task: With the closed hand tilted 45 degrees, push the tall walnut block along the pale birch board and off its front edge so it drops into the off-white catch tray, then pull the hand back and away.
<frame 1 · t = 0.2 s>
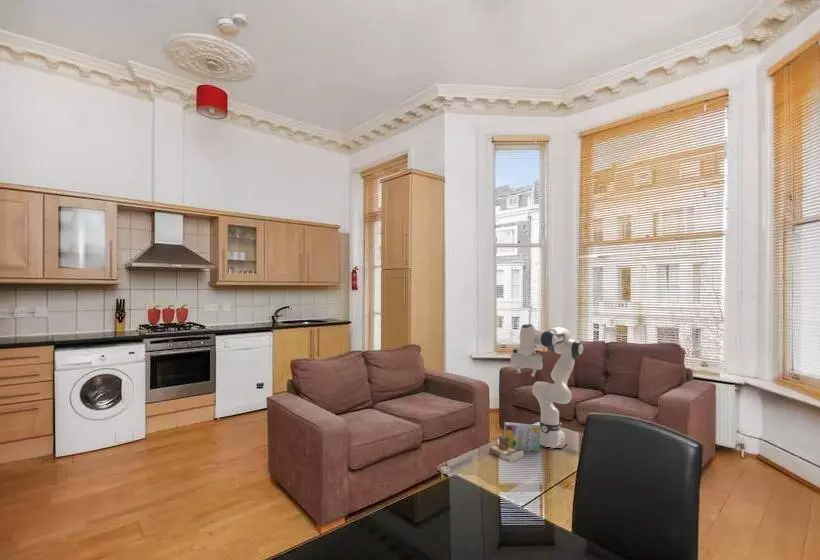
hand: (525, 374, 245), 48 cm above the table, tool pointing down, fingers open, 8 cm apart
catch tray: (511, 457, 241), on the table
snack box: (521, 449, 255), on the table
birch board: (502, 453, 246), on the table
walnut block: (503, 448, 246), point 3 cm above the table, touching birch board
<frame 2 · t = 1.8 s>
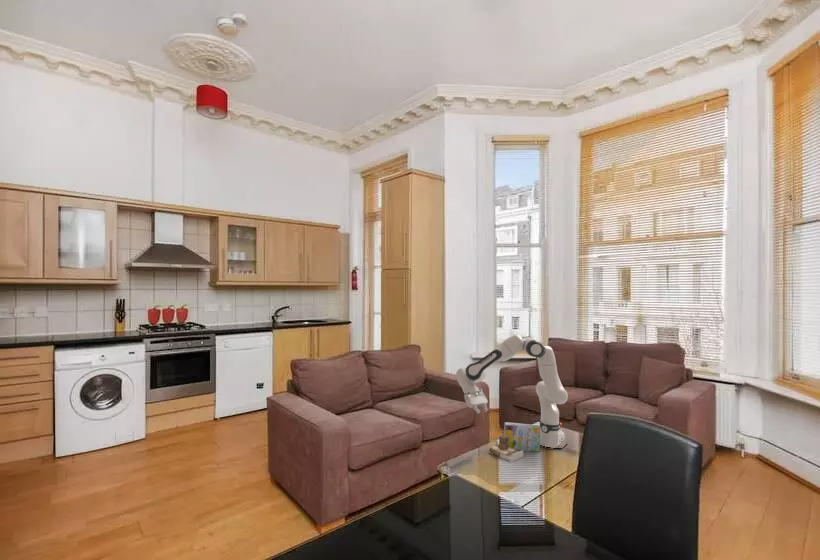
hand: (482, 412, 256), 21 cm above the table, tool tilted 40°, fingers open, 8 cm apart
nothing on the table moved.
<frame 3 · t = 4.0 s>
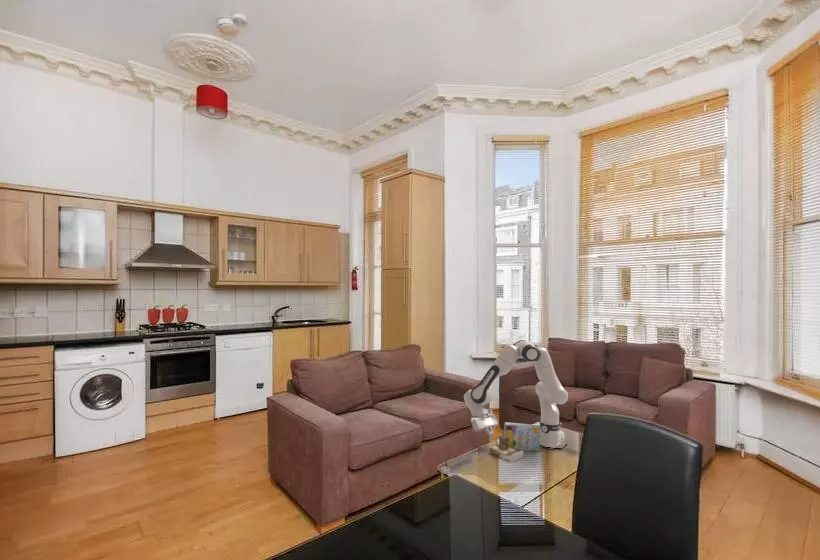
hand: (491, 435, 253), 8 cm above the table, tool tilted 45°, fingers closed
nothing on the table moved.
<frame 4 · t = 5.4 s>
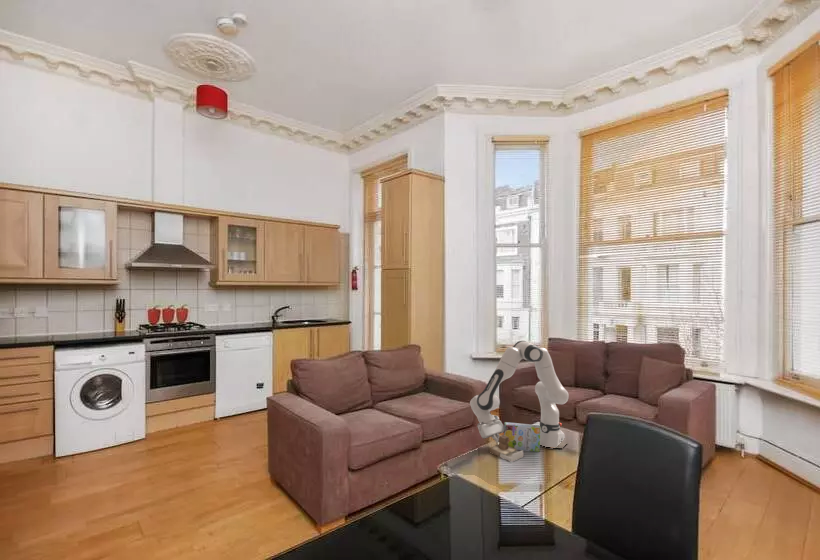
hand: (498, 441, 248), 6 cm above the table, tool tilted 45°, fingers closed
nothing on the table moved.
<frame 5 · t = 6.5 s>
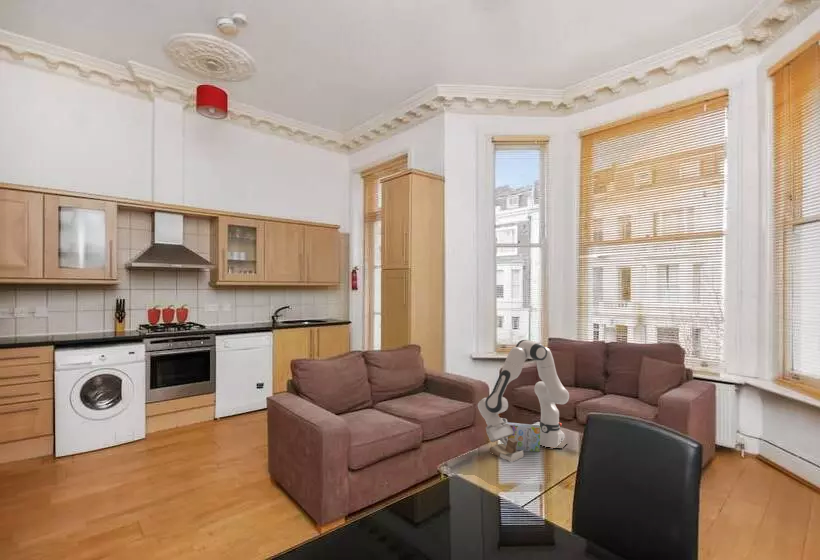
hand: (507, 445, 244), 6 cm above the table, tool tilted 45°, fingers closed
walnut block: (510, 451, 242), point 3 cm above the table, tilted 12°, touching birch board
everything else where it was.
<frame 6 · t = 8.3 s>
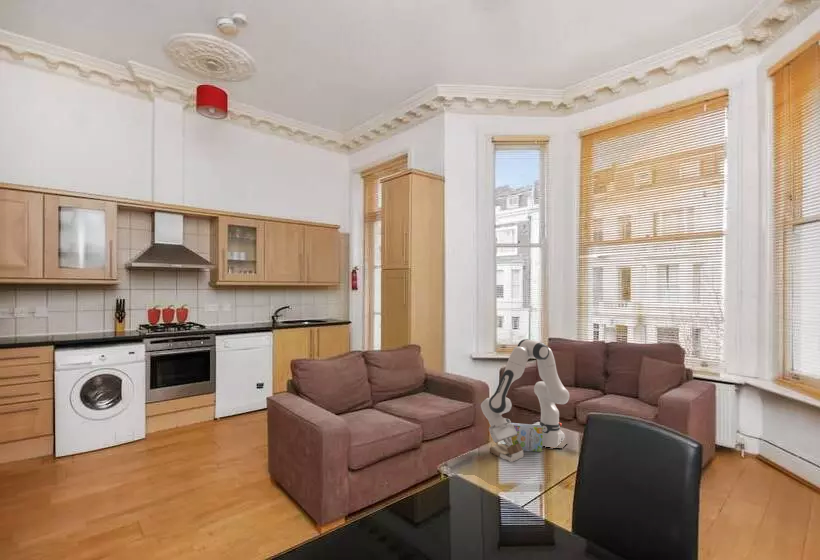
hand: (511, 445, 242), 6 cm above the table, tool tilted 45°, fingers closed
snack box: (523, 449, 254), on the table
walnut block: (510, 451, 242), point 3 cm above the table, tilted 53°, touching birch board, catch tray
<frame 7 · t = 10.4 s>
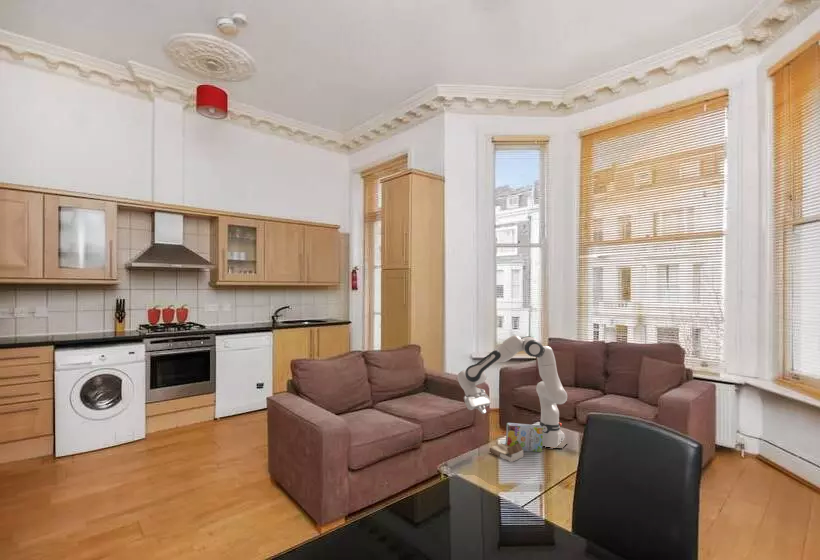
hand: (484, 413, 258), 20 cm above the table, tool tilted 45°, fingers closed
nothing on the table moved.
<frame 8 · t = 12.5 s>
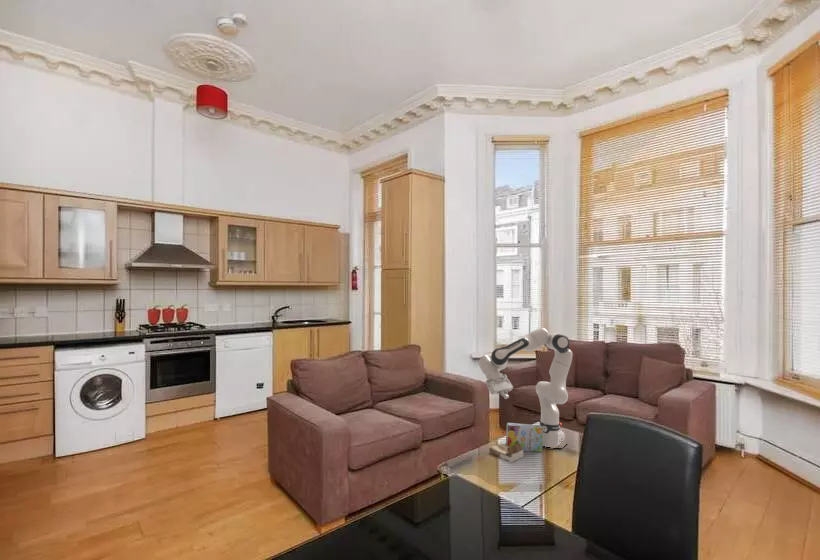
hand: (507, 398, 253), 31 cm above the table, tool tilted 45°, fingers closed
nothing on the table moved.
at the end: walnut block inside the target area (1.2 cm from its centre), point 3.1 cm above the table; walnut block touching birch board, catch tray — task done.
